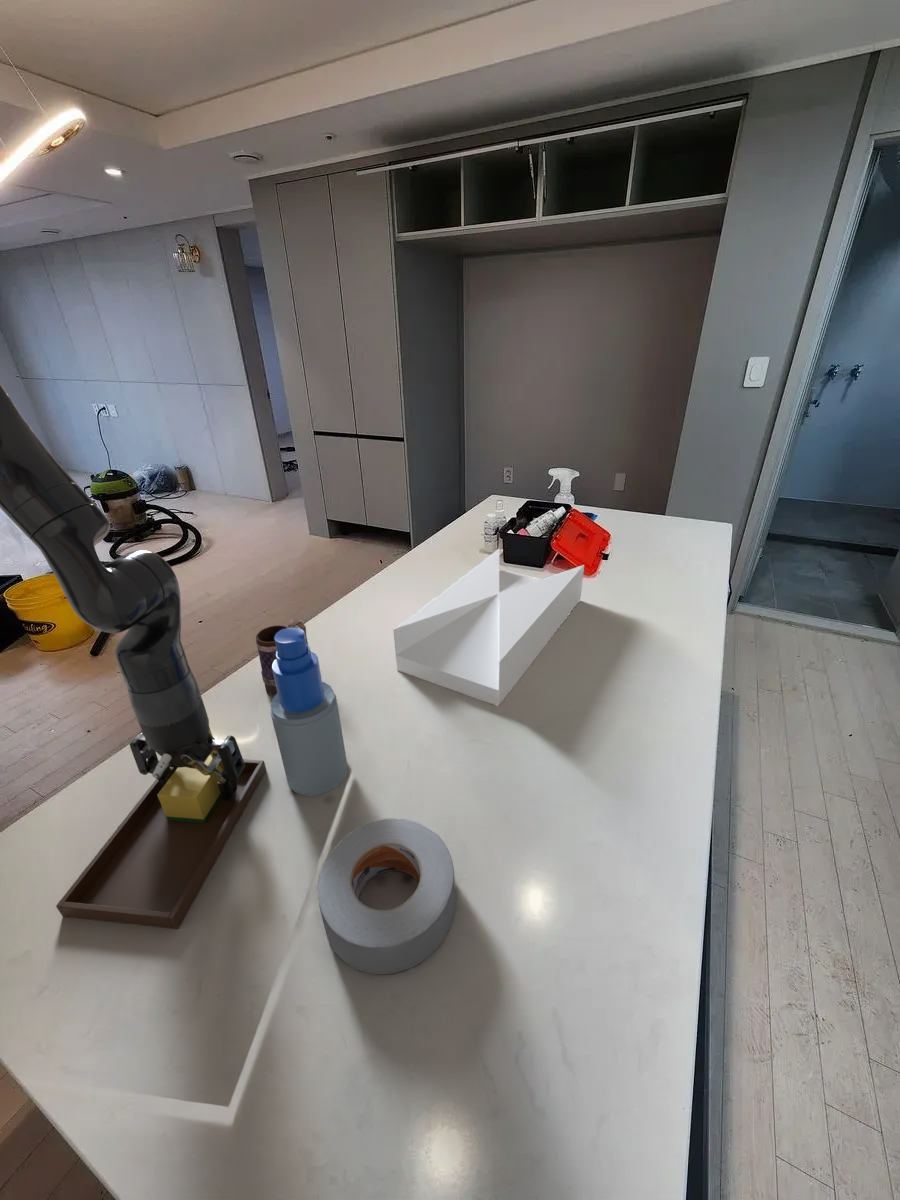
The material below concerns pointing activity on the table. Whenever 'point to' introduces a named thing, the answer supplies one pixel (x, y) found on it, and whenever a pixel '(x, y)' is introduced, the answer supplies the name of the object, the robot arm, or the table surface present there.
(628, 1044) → the table surface
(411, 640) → the building model
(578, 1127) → the table surface
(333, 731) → the spray bottle
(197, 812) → the sponge
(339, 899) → the tape roll
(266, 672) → the mug
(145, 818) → the tray
